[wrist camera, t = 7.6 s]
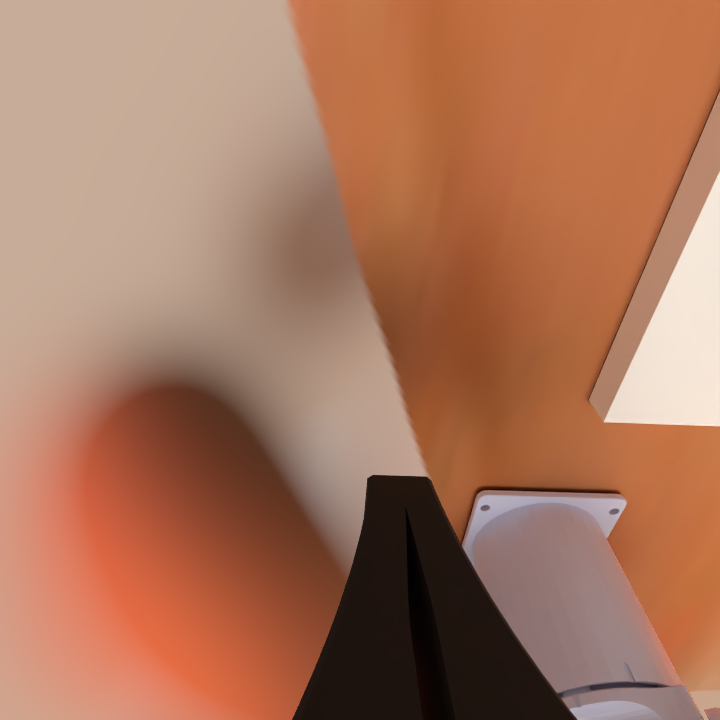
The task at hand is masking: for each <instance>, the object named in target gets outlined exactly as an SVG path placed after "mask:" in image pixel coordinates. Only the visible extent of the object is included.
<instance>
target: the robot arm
mask: <svg viewBox="0 0 720 720" xmlns="http://www.w3.org/2000/svg"><path fill="white" fill-rule="evenodd" d="M626 504H627V502H626V500H625V498H624V496H622V495H620V494H603V493H569V492H535V491H501V490H484V491H481V492H479V493H478V494H477V496H476V499H475V502H474V506H473V509H472V513H471V516H470V520H469V523H468V526H467V530H466V533H465V537H464V540H463V543H462V545H461V543H460V541H459V540H458V538H457V536H456V534H455V532H454V530H453V528H452V526H451V524H450V522H449V520H448V518H447V516H446V514H445V511H444V509H443V507H442V505H441V503H440V501H439V498H438V496H437V494H436V491H435V489H434V486H433V484H432V481H431V480H430V479H429V478H428V477H419V476H417V477H416V476H387V475H372V476H371V477H369V478H368V479H367V489H366V500H365V512H364V520H363V525H362V530H361V534H360V538H359V542H358V545H357V549H356V553H355V557H354V561H353V564H352V568H351V571H350V574H349V577H348V580H347V583H346V586H345V589H344V592H343V595H342V598H341V602H340V605H339V607H338V610H337V613H336V616H335V618H334V621H333V624H332V626H331V629H330V632H329V634H328V637H327V639H326V642H325V645H324V647H323V650H322V652H321V654H320V657H319V659H318V662H317V664H316V667H315V669H314V671H313V674H312V676H311V678H310V681H309V683H308V686H307V687H306V690H305V692H304V695H303V697H302V699H301V701H300V704H299V706H298V708H297V710H296V712H295V715H294V717H293V719H292V720H704V719H703V717H702V715H701V713H700V711H699V710H698V708H697V706H696V704H695V702H694V701H693V699H692V697H691V695H690V693H689V691H688V690H687V688H686V686H684V685H683V684H682V682H681V680H680V678H679V676H678V674H677V672H676V670H675V668H674V666H673V665H672V663H671V661H670V659H669V657H668V655H667V653H666V651H665V649H664V647H663V645H662V644H661V642H660V640H659V638H658V636H657V634H656V632H655V630H654V628H653V626H652V624H651V623H650V621H649V619H648V617H647V615H646V613H645V611H644V609H643V607H642V605H641V603H640V602H639V600H638V598H637V596H636V594H635V592H634V590H633V588H632V586H631V584H630V582H629V581H628V579H627V577H626V575H625V573H624V571H623V569H622V567H621V565H620V563H619V561H618V560H617V558H616V556H615V554H614V552H613V550H612V548H611V546H610V544H609V542H608V540H607V538H608V536H609V534H610V532H611V531H612V529H613V527H614V525H615V524H616V522H617V520H618V519H619V517H620V515H621V513H622V512H623V510H624V508H625V506H626ZM704 711H705V713H706V715H707V717H708V719H709V720H720V708H712V709H707V710H704Z"/></svg>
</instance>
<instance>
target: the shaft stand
mask: <svg viewBox="0 0 720 720" xmlns="http://www.w3.org/2000/svg"><path fill="white" fill-rule="evenodd" d="M589 402H590V403H591V404H592V406H593V407H594V409H595V410H596V412H597V413H598V415H599V416H600V418H601V419H602V421H603V422H614V423H643V424H671V425H700V426H720V92H719V94H718V97H717V99H716V101H715V104H714V106H713V108H712V111H711V113H710V115H709V118H708V120H707V123H706V125H705V127H704V130H703V132H702V134H701V137H700V139H699V141H698V144H697V146H696V148H695V151H694V153H693V156H692V158H691V160H690V163H689V165H688V167H687V170H686V172H685V174H684V177H683V179H682V182H681V184H680V186H679V189H678V191H677V193H676V196H675V198H674V200H673V203H672V205H671V207H670V210H669V212H668V215H667V217H666V219H665V222H664V224H663V226H662V229H661V231H660V233H659V236H658V238H657V240H656V243H655V245H654V248H653V250H652V252H651V255H650V257H649V259H648V262H647V264H646V266H645V269H644V271H643V273H642V276H641V278H640V281H639V283H638V285H637V288H636V290H635V292H634V295H633V297H632V299H631V302H630V304H629V306H628V309H627V311H626V314H625V316H624V318H623V321H622V323H621V325H620V328H619V330H618V332H617V335H616V337H615V339H614V342H613V344H612V347H611V349H610V351H609V354H608V356H607V358H606V361H605V363H604V365H603V368H602V370H601V372H600V375H599V377H598V380H597V382H596V384H595V387H594V389H593V391H592V394H591V396H590V398H589Z"/></svg>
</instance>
